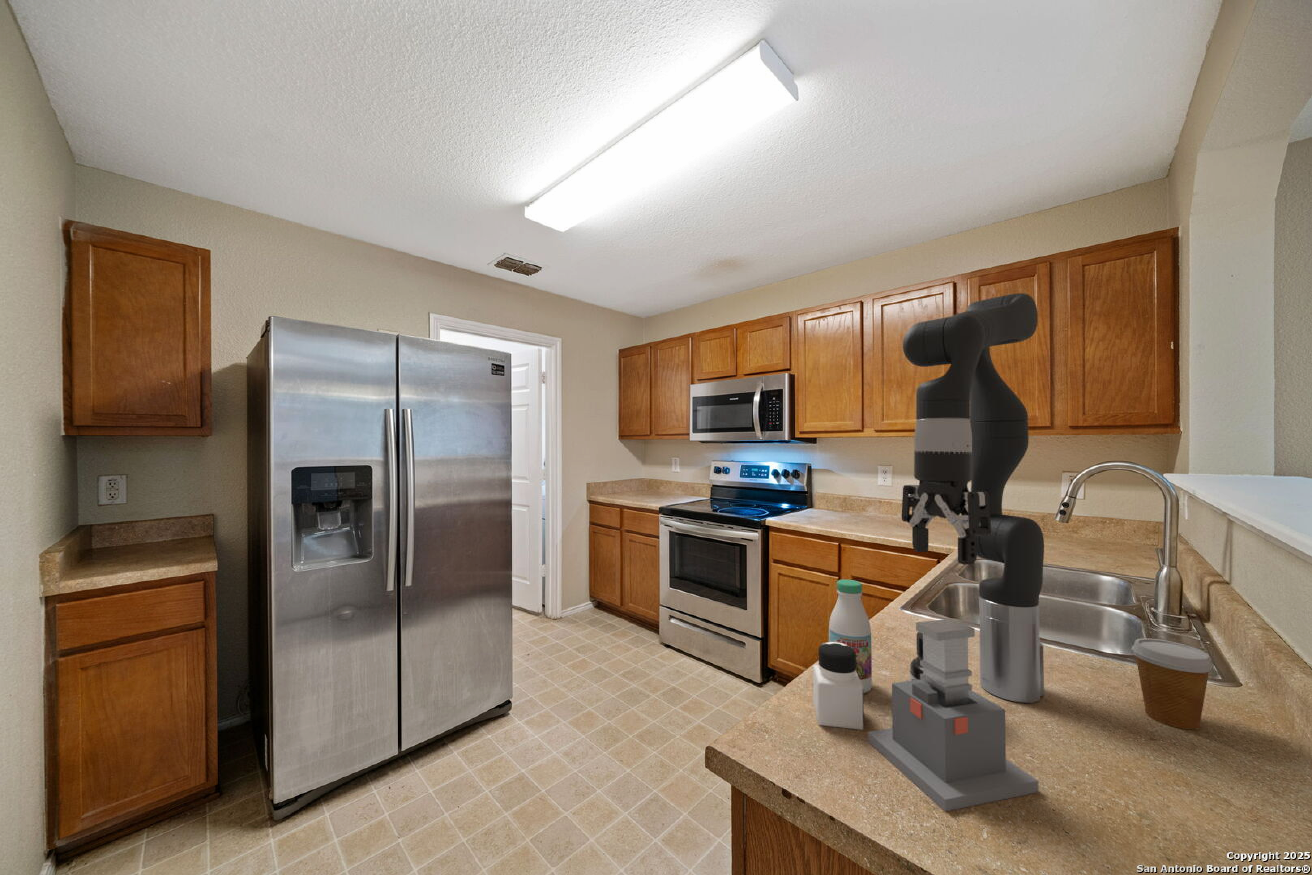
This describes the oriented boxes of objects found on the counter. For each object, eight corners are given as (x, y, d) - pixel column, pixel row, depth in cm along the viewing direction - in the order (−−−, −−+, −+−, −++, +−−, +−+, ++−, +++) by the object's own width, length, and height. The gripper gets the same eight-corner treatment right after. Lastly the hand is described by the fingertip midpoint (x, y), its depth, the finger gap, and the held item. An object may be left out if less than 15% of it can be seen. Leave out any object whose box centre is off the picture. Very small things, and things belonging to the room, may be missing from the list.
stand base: (947, 728, 79) (946, 658, 80) (1038, 791, 65) (1037, 705, 65) (867, 741, 76) (867, 667, 76) (945, 811, 61) (944, 720, 62)
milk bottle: (822, 676, 98) (821, 577, 98) (859, 674, 98) (858, 576, 99) (840, 696, 90) (839, 588, 90) (879, 694, 90) (879, 587, 91)
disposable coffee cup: (1193, 711, 85) (1192, 642, 85) (1229, 741, 76) (1227, 664, 76) (1122, 699, 89) (1121, 633, 89) (1148, 727, 80) (1147, 654, 80)
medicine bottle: (864, 730, 79) (863, 656, 79) (818, 725, 80) (817, 653, 81) (855, 707, 86) (854, 639, 86) (813, 703, 87) (812, 636, 88)
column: (951, 738, 73) (950, 618, 74) (977, 757, 69) (976, 629, 69) (915, 744, 72) (914, 621, 72) (940, 764, 67) (939, 633, 68)
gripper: (1006, 450, 67) (1006, 568, 66) (927, 450, 81) (927, 547, 80) (960, 449, 65) (960, 570, 65) (888, 449, 79) (887, 548, 79)
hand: (942, 557), depth 73 cm, fingers open, 8 cm apart
